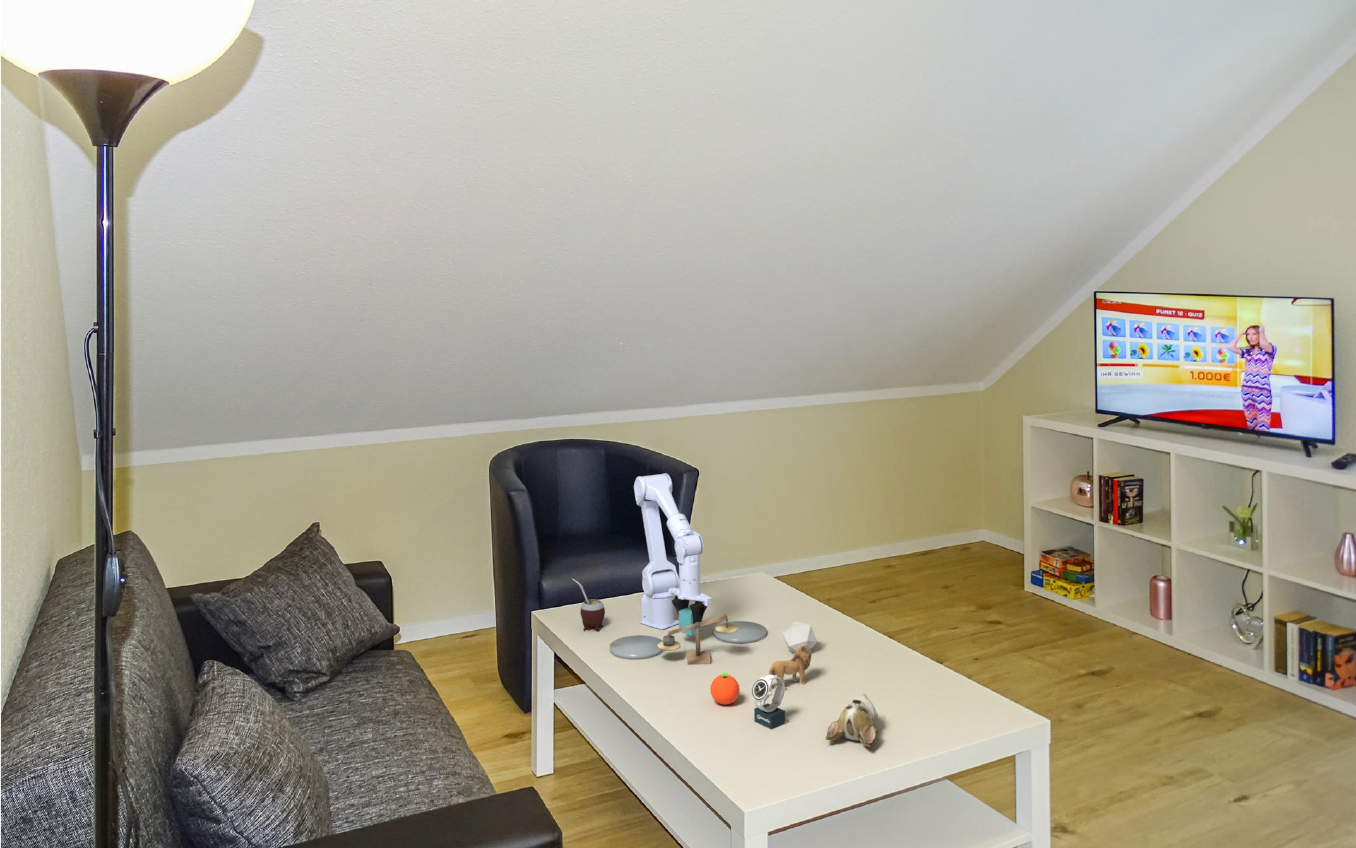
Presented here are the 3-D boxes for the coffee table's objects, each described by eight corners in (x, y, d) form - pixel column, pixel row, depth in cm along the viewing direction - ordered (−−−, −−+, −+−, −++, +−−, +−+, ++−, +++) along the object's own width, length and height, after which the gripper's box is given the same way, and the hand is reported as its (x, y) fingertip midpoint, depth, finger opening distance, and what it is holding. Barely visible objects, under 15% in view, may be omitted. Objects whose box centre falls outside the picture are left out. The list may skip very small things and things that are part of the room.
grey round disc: (702, 635, 288) (702, 631, 288) (736, 621, 299) (736, 617, 299) (743, 647, 278) (743, 643, 278) (777, 633, 289) (777, 628, 289)
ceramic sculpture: (887, 690, 226) (871, 721, 213) (888, 726, 228) (872, 759, 215) (841, 683, 231) (822, 713, 217) (842, 718, 232) (823, 750, 219)
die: (822, 653, 274) (813, 619, 279) (814, 648, 267) (805, 613, 271) (794, 662, 276) (785, 628, 281) (785, 657, 269) (776, 622, 273)
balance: (658, 665, 267) (657, 621, 265) (657, 657, 273) (656, 613, 271) (739, 662, 267) (739, 618, 266) (737, 654, 273) (736, 611, 271)
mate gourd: (609, 629, 295) (608, 579, 293) (585, 635, 290) (584, 584, 288) (597, 622, 301) (595, 573, 299) (573, 628, 297) (571, 578, 294)
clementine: (710, 695, 247) (710, 667, 246) (739, 695, 247) (738, 667, 246) (710, 709, 239) (710, 680, 238) (740, 709, 239) (739, 680, 238)
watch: (748, 724, 231) (747, 677, 229) (773, 714, 236) (773, 668, 234) (765, 732, 227) (765, 685, 225) (790, 721, 232) (790, 675, 230)
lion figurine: (801, 674, 259) (801, 640, 258) (816, 680, 255) (816, 646, 253) (759, 689, 250) (759, 654, 249) (774, 696, 246) (774, 660, 244)
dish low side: (598, 650, 278) (598, 646, 278) (637, 635, 289) (637, 631, 289) (637, 663, 268) (636, 659, 268) (676, 648, 279) (675, 643, 279)
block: (679, 631, 282) (678, 611, 281) (690, 627, 285) (689, 606, 284) (691, 635, 279) (690, 614, 278) (702, 631, 282) (701, 610, 281)
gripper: (660, 576, 282) (661, 623, 284) (699, 586, 272) (700, 635, 274) (677, 570, 287) (678, 616, 289) (716, 580, 277) (717, 628, 279)
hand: (690, 625), depth 282 cm, fingers closed on block, 4 cm apart
